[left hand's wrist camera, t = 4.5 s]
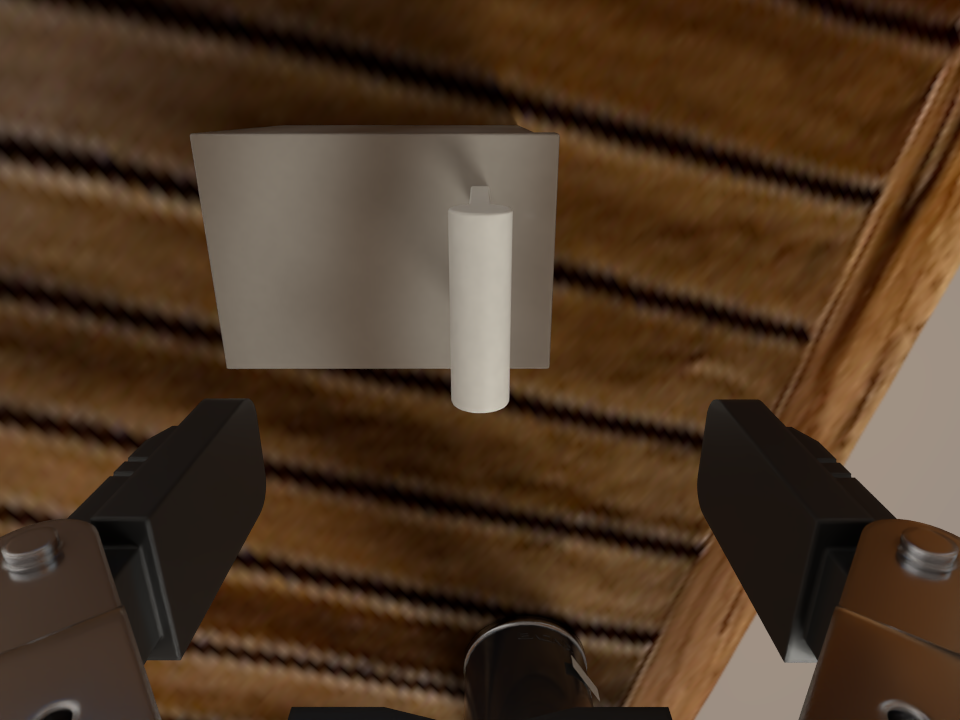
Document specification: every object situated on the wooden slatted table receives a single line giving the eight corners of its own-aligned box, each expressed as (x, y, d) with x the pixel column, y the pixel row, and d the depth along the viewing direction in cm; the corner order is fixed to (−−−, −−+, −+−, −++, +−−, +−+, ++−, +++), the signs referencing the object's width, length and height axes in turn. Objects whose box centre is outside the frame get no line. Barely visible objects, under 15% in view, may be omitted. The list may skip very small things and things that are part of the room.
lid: (556, 132, 25) (595, 144, 16) (546, 359, 28) (574, 463, 20) (201, 132, 25) (60, 144, 16) (236, 359, 28) (134, 463, 20)
